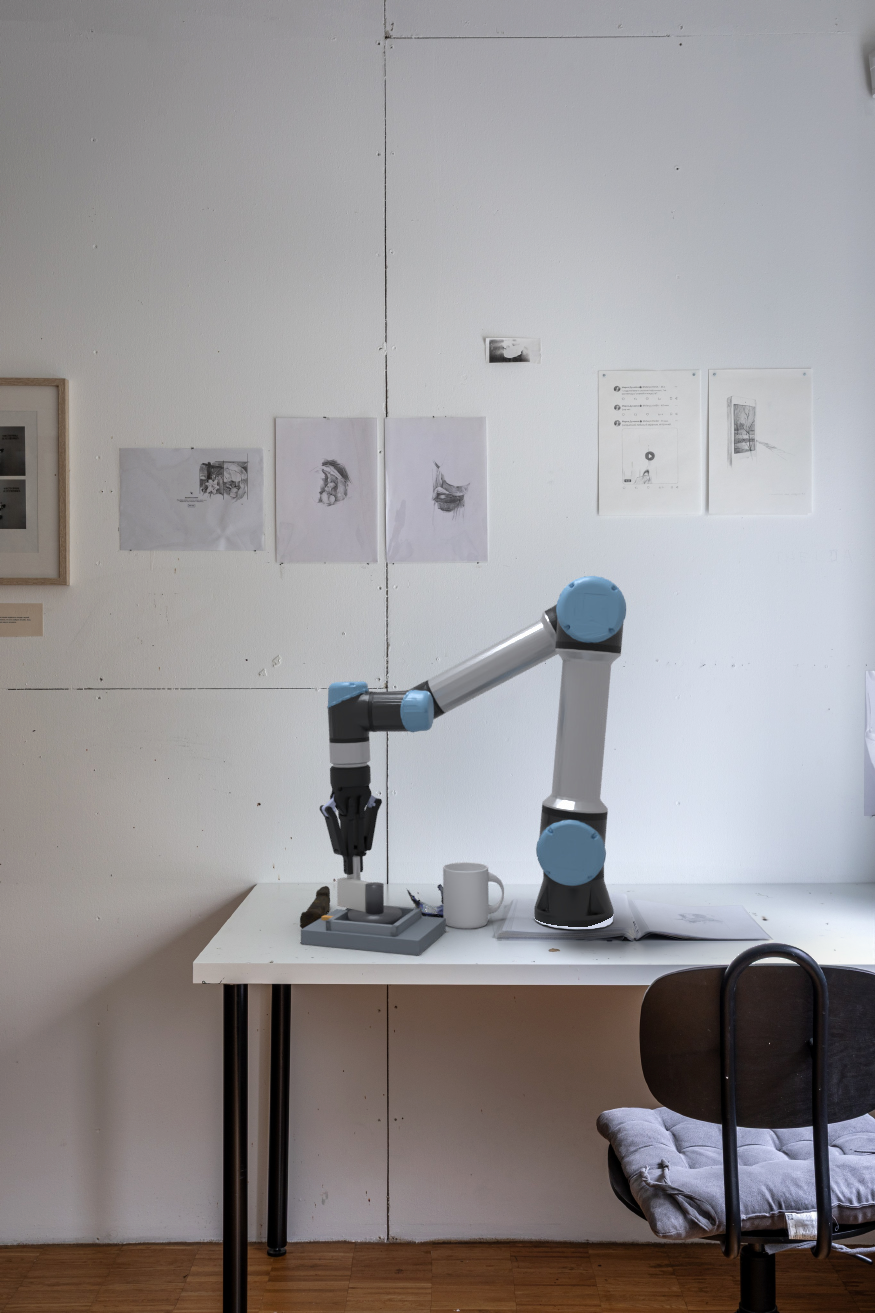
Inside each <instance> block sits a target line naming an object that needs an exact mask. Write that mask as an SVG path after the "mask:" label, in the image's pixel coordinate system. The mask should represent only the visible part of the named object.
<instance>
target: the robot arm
mask: <svg viewBox="0 0 875 1313" xmlns="http://www.w3.org/2000/svg"><path fill="white" fill-rule="evenodd" d="M626 615H627V602H626V599H625V597H624V594H623V592H622V591H621V590H620V588H619V587H618V585H617V584H615V583H614V582H612V580H609V579H607V578H605V577H602V576H596V575H587V576H582V577H578V578H575V579H574V580H572V581H571V582H569V583H568V584H567V585H565V587H564V588H563V589H562V591H561V593H560V594H559V597H558V598H557V602H556V604H554V605H553V606H551V607H549V608H547V609H546V610H544V611H542V614H541V617H540V619H538V620H536V621H535V622H533V623H530V624H529V625H527V626H525V627H523V628H522V629H519V630H518V631H516V632H514V633H512V634H510V635H508V636H507V637H505V638H502V639H501V640H499V641H498V642H496V643H494V644H491V645H489V646H488V647H486V648H484V649H483V650H481V651H479V652H476V653H475V654H474V655H471V656H470V657H468V658H466V659H464V660H462V661H460V662H459V663H456V664H455V665H453V666H451V667H449V668H447V669H445V670H444V671H442V672H440V673H437V674H436V675H434V676H432V677H431V678H428V679H427V680H425V681H423V682H420V683H419V684H417V685H415V686H413V687H411V688H409V689H406V690H392V691H388V690H387V691H372V690H370V689H369V685H368V683H367V682H366V681H361V680H360V681H358V680H357V681H356V680H355V681H354V680H353V681H335V682H331V683H330V685H329V686H328V689H327V690H328V692H327V706H326V709H327V718H328V719H327V720H328V721H327V723H328V738H329V739H328V740H329V744H328V746H329V747H328V748H329V763H330V764H332V765H331V766H330V768H329V776H330V777H329V779H330V780H329V781H330V783H329V784H330V786H331V793H330V796H329V799H330V800H329V801H327V802H326V804H325V805H324V804H322V805H320V806H319V811H320V813H321V814H322V816H323V817H324V820H325V824H326V828H327V832H328V835H329V840H330V844H331V848H332V851H333V853H334V855H338V856H341V857H342V860H343V861H342V862H343V873H344V874H345V875H346V878H351V879H357V880H362V878H361V873H363V872H364V857H365V856H366V855H368V854H367V852H368V851H371V850H372V848H373V843H374V836H375V830H376V825H377V818H378V813H379V810H380V808H381V805H382V804H383V800H382V799H381V798H378V797H376V796H374V795H372V790H371V788H370V784H371V782H372V779H371V774H372V773H371V766H370V764H369V762H370V761H371V748H370V746H371V745H370V743H371V742H370V733H371V732H372V733H377V732H380V733H383V732H386V733H387V732H388V733H390V732H391V733H393V732H396V733H398V732H399V733H401V732H404V733H405V732H406V733H407V732H410V733H416V732H418V733H419V732H426V731H429V730H431V728H432V727H433V724H434V721H435V719H438V718H440V717H442V716H444V715H445V714H447V713H448V712H450V711H453V710H454V709H456V708H458V707H460V706H462V705H464V704H466V703H467V702H470V701H471V700H474V699H475V698H477V697H478V696H480V695H483V694H485V693H487V692H488V691H490V690H492V689H494V688H496V687H498V686H500V685H503V684H504V683H506V682H507V681H510V680H511V679H513V678H515V677H517V676H519V675H521V674H523V673H525V672H527V671H528V670H530V669H532V668H534V667H537V666H538V665H540V664H542V663H544V662H546V661H548V660H550V659H552V658H553V657H556V656H559V657H560V659H561V660H562V665H561V675H560V676H561V677H560V678H561V679H560V687H559V688H560V689H559V701H558V713H557V715H558V716H557V724H556V738H555V749H554V760H553V770H552V771H553V773H552V783H551V784H552V786H551V793H550V795H549V796H547V797H546V798H545V799H543V800H542V804H541V814H540V826H539V835H538V836H539V837H538V840H537V843H536V848H535V849H536V850H535V852H536V857H537V861H538V864H539V866H540V868H541V869H542V872H543V873H542V874H543V876H542V883H541V885H540V888H539V892H538V895H537V897H536V902H535V904H534V911H533V912H534V913H533V914H534V917H535V919H536V920H538V921H540V922H543V923H546V924H551V925H557V926H568V927H588V926H592V925H595V924H598V923H601V922H603V921H605V920H607V919H609V918H611V917H612V916H613V914H614V915H615V913H614V912H615V911H614V906H613V904H612V901H611V897H610V895H609V892H608V889H607V885H606V882H605V862H606V857H607V851H606V837H607V823H608V813H609V809H608V808H609V807H607V805H606V804H605V803H604V801H602V799H601V795H602V794H601V791H602V780H603V770H604V769H603V767H604V756H605V746H606V745H605V744H606V731H607V723H608V721H607V720H608V708H609V698H610V696H609V695H610V683H611V672H612V664H613V663H614V662H615V661H616V660H618V659H619V658H620V657H621V655H622V646H623V633H624V623H625V622H624V621H625V619H626V617H627V616H626ZM336 813H337V814H336ZM337 815H338V816H337ZM535 919H534V920H535Z"/></svg>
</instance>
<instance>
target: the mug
mask: <svg viewBox="0 0 875 1313" xmlns="http://www.w3.org/2000/svg"><path fill="white" fill-rule="evenodd" d="M442 872H443V874H442V883H443V884H442V886H443V904H442V905H443V917H444V918H446V926H448V927H450V928H453V929H454V928H455V929H465V930H469V929H471V930H472V929H478V928H482V927H484V926H486V925H487V924H488V922H489V916H490V915H492V914H494V913H496V912H497V911H498V910H499V909H500V908H501V906H502V904H503V902H504V899H505V898H504V897H505V887H504V884H503V882H502V880H501V879H500V878H499V877H498V875H496V874H494V873H492V872H490V871H489V865H486V864H485V863H478V862H467V861H466V862H465V861H463V862H453V863H448V864H445V865H443V867H442ZM490 882H492V883H495V884H497V885H498V886H499V887H500V890H501V898H500V899H499V901H497V903H496V904H489V883H490Z"/></svg>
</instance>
